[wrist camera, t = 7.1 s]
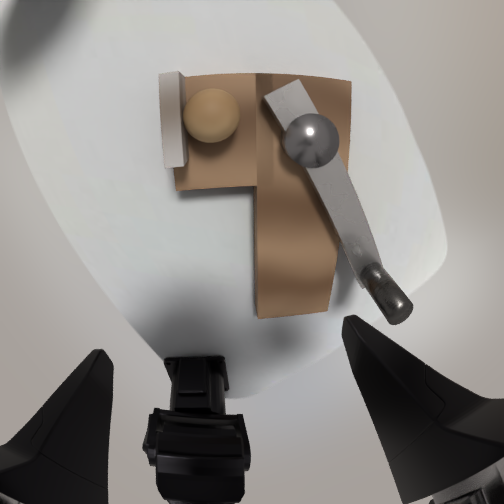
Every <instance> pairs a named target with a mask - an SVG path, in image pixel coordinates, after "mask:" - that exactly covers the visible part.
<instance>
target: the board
mask: <svg viewBox="0 0 504 504" xmlns="http://www.w3.org/2000/svg"><path fill="white" fill-rule="evenodd" d="M297 79H299V80H300V82H301V84H302V85H303V87H304V89H305V90H306V92H307V94H308V95H309V97H310V99H311V101H312V103H313V104H314V106H315V108H316V110H317V112H318V113H319V114H320V115H323V116H325V117H326V118H328V119H329V120H330V121H331V122H332V123H333V124H334V125H335V127H336V128H337V131H338V134H339V148H338V153H339V155H340V157H341V159H342V162H343V164H344V166H345V168H346V170H347V173H348V160H349V146H350V126H351V81H346V80H339V79H332V78H324V77H315V76H304V75H291V74H269V73H236V74H214V75H200V76H190V77H184V76H183V75H182V74H181V73H180V72H179V71H176V72H169V73H162V74H159V99H160V117H161V132H162V144H163V155H164V165H165V168H172V167H174V177H175V186H176V191H182V190H193V189H206V188H220V187H237V186H253V190H254V261H255V306H256V311H257V317H258V319H264V318H274V317H284V316H293V315H302V314H310V313H318V312H325V311H327V310H328V305H329V300H330V295H331V290H332V284H333V279H334V273H335V267H336V261H337V255H338V248H339V242H340V241H339V239H338V236H337V234H336V232H335V230H334V228H333V226H332V224H331V222H330V219H329V217H328V215H327V213H326V211H325V209H324V207H323V205H322V203H321V201H320V199H319V197H318V195H317V193H316V191H315V189H314V188H313V186H312V184H311V182H310V180H309V178H308V176H307V174H306V172H305V171H304V169H303V167H302V166H301V165H299V164H298V163H296V162H295V161H293V160H292V159H291V158H289V157H288V156H287V155H286V153H285V152H284V150H283V148H282V146H281V142H280V134H281V128H280V126H279V125H278V123H277V121H276V120H275V118H274V117H273V115H272V113H271V112H270V110H269V108H268V107H267V105H266V104H265V102H264V100H263V99H262V97H263V96H265V95H267V94H269V93H271V92H272V91H274V90H276V89H278V88H280V87H282V86H284V85H286V84H288V83H290V82H292V81H295V80H297Z"/></svg>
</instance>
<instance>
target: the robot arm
mask: <svg viewBox="0 0 504 504" xmlns="http://www.w3.org/2000/svg"><path fill="white" fill-rule="evenodd" d="M342 339H343V342H344V346H345V348H346V352H347V356H348V359H349V362H350V366H351V369H352V372H353V375H354V377H355V380H356V382H357V385H358V387H359V389H360V391H361V394H362V397H363V399H364V401H365V404H366V406H367V409H368V411H369V414H370V416H371V419H372V421H373V424H374V426H375V429H376V431H377V434H378V436H379V439H380V441H381V444H382V447H383V450H384V452H385V455H386V457H387V460H388V462H389V466H390V469H391V472H392V474H393V477H394V480H395V483H396V486H397V489H398V492H399V495H400V498H401V501H402V503H403V504H408V503H411V502H414V501H417V500H420V499H423V498H425V497H428V496H430V495H432V497H433V499H432V500H431V501H430V502H429V504H504V399H489V398H485V397H481V396H479V395H477V394H475V393H473V392H472V391H470V390H468V389H466V388H464V387H462V386H460V385H459V384H457V383H455V382H453V381H452V380H450V379H448V378H446V377H445V376H443V375H442V374H440V373H438V372H437V371H436V370H434V369H433V368H431V367H430V366H428V365H427V364H426V365H425V363H424V362H423V361H421V360H420V359H418V358H417V357H415V356H414V355H412V354H411V353H410V352H408V351H407V350H405V349H404V348H403V347H401V346H399V345H398V344H397V343H395V342H394V341H393V340H391V339H390V338H388V337H387V336H385V335H384V334H382V333H381V332H380V331H378V330H377V329H375V328H374V327H373V326H371V325H370V324H368V323H367V322H365V321H364V320H362V319H361V318H360V317H358V316H357V315H350V316H346V317H344V320H343V326H342ZM164 365H165V368H166V370H167V372H168V375H169V377H170V380H171V382H172V387H171V398H170V410H162V409H160V408H154V412H153V414H149V421H148V428H147V432H146V435H145V439H144V442H143V447H142V448H143V451H144V452H145V453H146V454H147V457H148V459H149V464H150V466H155V467H156V485H157V487H158V491H159V492H160V494H161V496H162V497H163V499H164V500H167V501H168V502H169V504H235V503H239V502H240V501H241V499H242V497H243V496H244V494H245V490H244V487H245V477H244V471H248V470H249V468H250V462H251V452H250V444H249V440H248V435H247V431H246V427H245V423H244V418H243V414H237V415H226V413H225V395H224V391H228V390H229V384H228V377H227V371H226V364H225V358H224V357H221V356H217V357H195V358H166V359H164ZM113 370H114V366H113V363H112V361H111V359H110V358H109V357H108V355H107V354H106V352H105V351H104V350H103V349H94V350H93V351H92V352H91V353H90V354H89V355H88V356H87V357H86V358H85V359H84V360H83V361H82V362H81V363H80V364H79V366H78V367H77V368H76V369H75V370H74V371H73V372H72V373H71V374H70V376H68V377H67V379H66V380H65V381H64V382H63V383H62V384H61V385H60V386H59V387H58V389H57V390H56V391H55V392H54V393H53V394H52V395H51V396H50V398H49V399H48V400H47V401H46V402H45V403H44V405H43V407H41V408H40V409H39V410H38V411H37V413H36V414H35V415H34V416H33V417H32V418H31V419H30V420H29V421H28V422H27V424H26V425H25V426H24V427H23V428H22V429H21V430H20V431H19V432H18V433H17V434H16V435H15V436H14V437H13V438H12V439H11V440H10V441H8V442H7V443H6V444H4V445H1V446H0V504H108V452H109V435H110V422H111V412H112V401H113Z"/></svg>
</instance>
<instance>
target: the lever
mask: <svg viewBox="0 0 504 504" xmlns="http://www.w3.org/2000/svg"><path fill="white" fill-rule="evenodd" d="M262 99H263V100H264V102H265V104H266V105H267V107H268V108H269V110H270V112H271V113H272V115H273V117H274V118H275V120H276V121H277V123H278V125H279V126H280V128H281V134H280V142H281V146H282V148H283V150H284V152H285V153H286V155H287V156H288V157H289V158H291V159H292V160H293V161H295V162H296V163H298V164H299V165H301V166H302V167H303V169H304V171H305V172H306V174H307V176H308V178H309V180H310V182H311V184H312V186H313V188H314V189H315V191H316V193H317V195H318V197H319V199H320V201H321V203H322V205H323V207H324V209H325V211H326V213H327V215H328V217H329V219H330V222H331V224H332V226H333V228H334V230H335V232H336V234H337V236H338V239H339V241H340V243H341V245H342V247H343V250H344V252H345V254H346V256H347V259H348V261H349V263H350V265H351V268H352V270H353V272H354V275H355V277H356V280H357V282H358V283H359V285H360V286H361V288H362V289H363V288H366V289H367V291H368V292H369V294H370V295H371V297H372V298H373V300H374V301H375V303H376V304H377V306H378V307H379V309H380V310H381V312H382V313H383V315H384V316H385V318H386V319H387V321H388V322H389V324H391V325H397V324H400V323H401V322H403V321H405V320H406V319H407V318H408V317H409V315H410V314H411V313H412V310H413V304H412V302H411V301H410V300H409V299H408V297H407V296H406V295H405V293H404V292H403V291H402V290H401V289H400V287H399V286H398V285H397V284H396V282H395V281H394V280H393V279H392V278H391V276H390V275H389V274H388V273H387V272H386V271H385V269H384V268H383V265H382V262H381V259H380V256H379V253H378V250H377V247H376V244H375V241H374V238H373V235H372V233H371V230H370V227H369V224H368V222H367V219H366V216H365V214H364V211H363V209H362V206H361V204H360V201H359V199H358V196H357V194H356V191H355V189H354V186H353V184H352V182H351V179H350V177H349V175H348V173H347V170H346V168H345V166H344V164H343V162H342V159H341V157H340V155H339V153H338V148H339V134H338V131H337V128H336V127H335V125H334V124H333V123H332V122H331V121H330V120H329V119H328V118H326V117H325V116H323V115H320V114H319V113H318V112H317V110H316V108H315V106H314V104H313V103H312V101H311V99H310V97H309V95H308V94H307V92H306V90H305V89H304V87H303V85H302V84H301V82H300V80H299V79H297V80H295V81H292V82H290V83H288V84H286V85H284V86H282V87H280V88H278V89H276V90H274V91H272V92H271V93H269V94H267V95H265V96H263V97H262Z"/></svg>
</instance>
